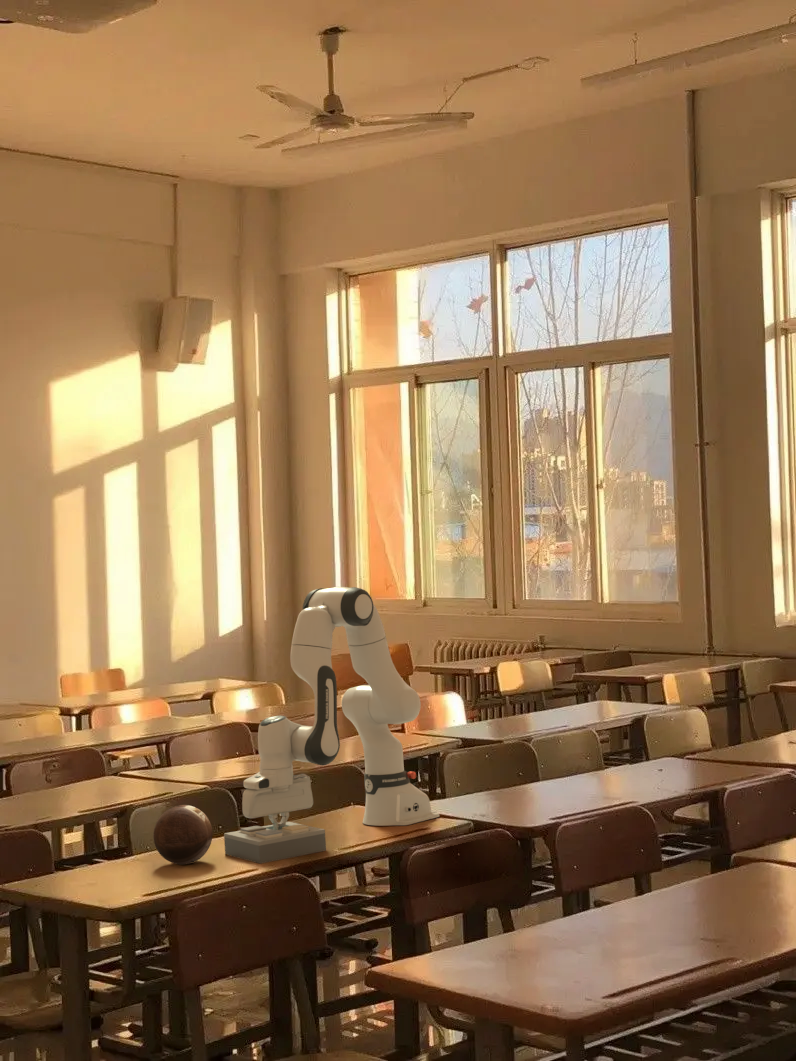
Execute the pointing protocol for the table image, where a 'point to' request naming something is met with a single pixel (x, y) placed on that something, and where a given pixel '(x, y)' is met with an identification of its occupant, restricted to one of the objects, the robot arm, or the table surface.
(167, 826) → the wooden sphere
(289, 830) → the key
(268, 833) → the key
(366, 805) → the robot arm
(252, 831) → the key
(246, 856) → the keypad
